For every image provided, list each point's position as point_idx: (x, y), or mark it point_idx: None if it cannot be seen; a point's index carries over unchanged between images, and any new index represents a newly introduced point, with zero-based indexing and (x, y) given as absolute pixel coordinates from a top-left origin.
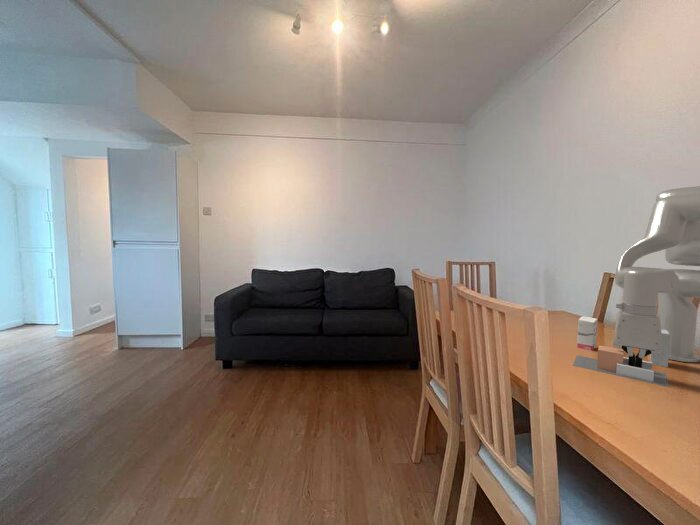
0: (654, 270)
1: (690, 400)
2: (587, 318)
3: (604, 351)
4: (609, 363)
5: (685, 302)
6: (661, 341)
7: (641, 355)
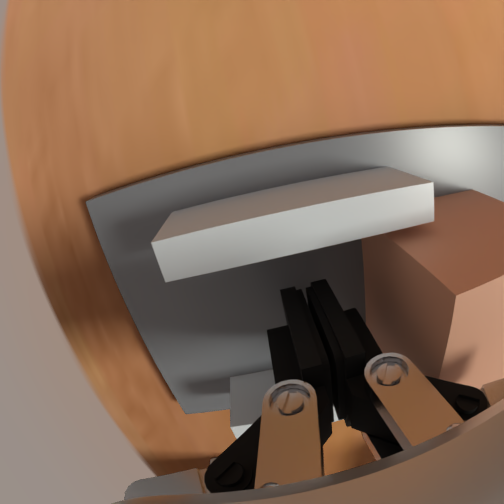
0: None
1: (16, 146)
2: None
3: None
4: (459, 214)
5: None
6: None
7: (290, 410)
